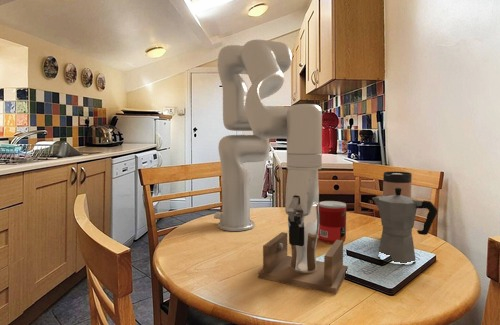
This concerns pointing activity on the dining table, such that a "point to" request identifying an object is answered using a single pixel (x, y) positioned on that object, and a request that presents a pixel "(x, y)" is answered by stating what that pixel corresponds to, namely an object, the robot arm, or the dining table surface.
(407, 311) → the dining table surface
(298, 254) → the beer glass
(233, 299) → the dining table surface
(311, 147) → the robot arm
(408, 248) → the coffeepot
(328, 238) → the canned food
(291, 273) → the holder
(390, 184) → the travel mug
